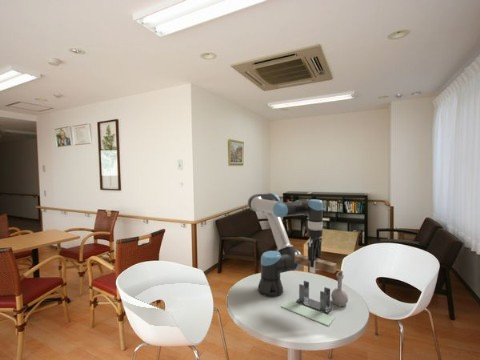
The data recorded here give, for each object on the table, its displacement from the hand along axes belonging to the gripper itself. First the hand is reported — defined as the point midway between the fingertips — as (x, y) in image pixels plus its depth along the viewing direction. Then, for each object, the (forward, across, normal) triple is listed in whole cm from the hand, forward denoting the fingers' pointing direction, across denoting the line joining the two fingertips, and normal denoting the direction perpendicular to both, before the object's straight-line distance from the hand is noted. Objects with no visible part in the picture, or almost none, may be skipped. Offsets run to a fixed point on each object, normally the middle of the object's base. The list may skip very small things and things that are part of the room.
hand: (314, 270), depth 138 cm
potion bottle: (+19, +11, -10) cm, 24 cm away
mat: (+19, -9, 0) cm, 21 cm away
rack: (+19, 0, 0) cm, 19 cm away
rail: (-2, 0, 0) cm, 2 cm away
